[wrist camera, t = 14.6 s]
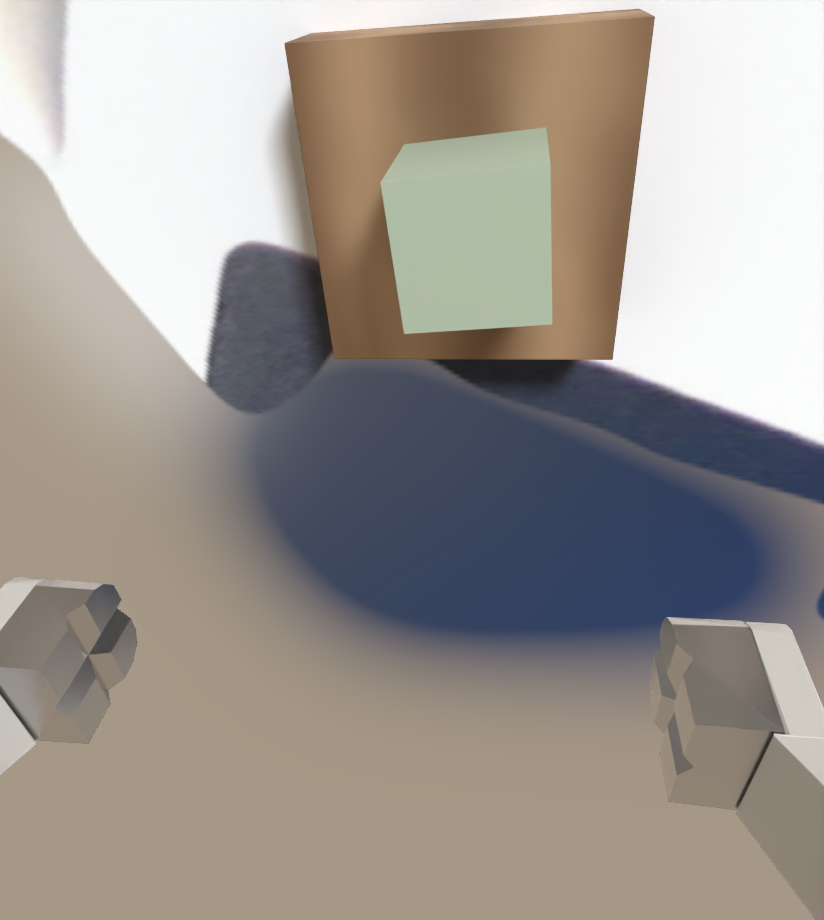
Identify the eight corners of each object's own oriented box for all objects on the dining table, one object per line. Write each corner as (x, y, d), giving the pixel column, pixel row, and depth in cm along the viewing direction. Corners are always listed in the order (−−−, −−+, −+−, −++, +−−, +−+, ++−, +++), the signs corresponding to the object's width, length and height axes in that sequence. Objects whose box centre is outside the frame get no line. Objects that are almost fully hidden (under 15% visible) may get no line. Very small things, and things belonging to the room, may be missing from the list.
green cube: (421, 277, 27) (404, 334, 23) (404, 144, 24) (380, 182, 20) (548, 267, 26) (552, 324, 22) (546, 127, 23) (550, 164, 19)
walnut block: (352, 319, 33) (334, 358, 30) (314, 32, 26) (284, 43, 22) (603, 318, 31) (612, 359, 28) (637, 8, 24) (654, 16, 21)
